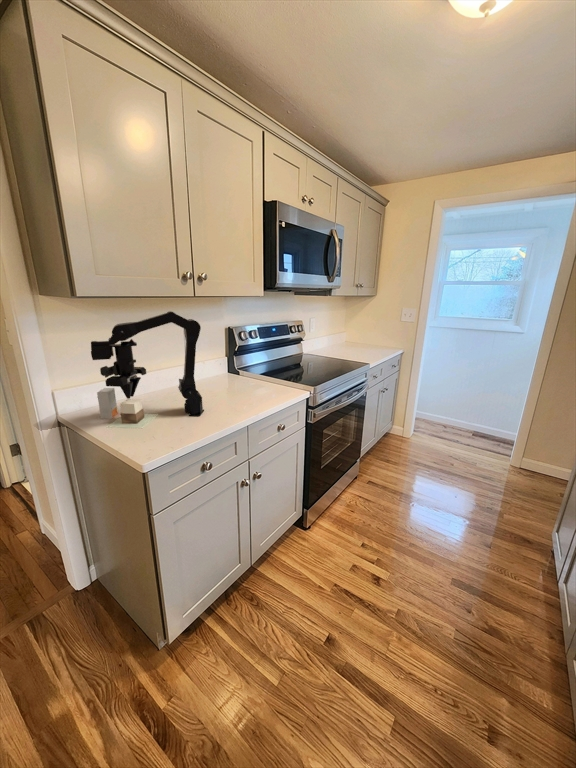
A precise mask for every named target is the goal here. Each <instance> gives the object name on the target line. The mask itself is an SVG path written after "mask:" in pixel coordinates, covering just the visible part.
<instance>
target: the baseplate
mask: <svg viewBox="0 0 576 768" xmlns="http://www.w3.org/2000/svg"><path fill="white" fill-rule="evenodd" d="M157 416H159V413H144V419H142V420H141V421H140V422H139V423H137V424H129V423H122V420H121V416H119V417H118V418H117V419H115V420H114V421H113V422H111V423H110V424H108V425H107V426H106V428H111V429H113V428H116V429H143V428H144V427H146V426H147V425H148V424H149V423H151V422H152V421H153V420H154V419H156V417H157Z"/></svg>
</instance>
